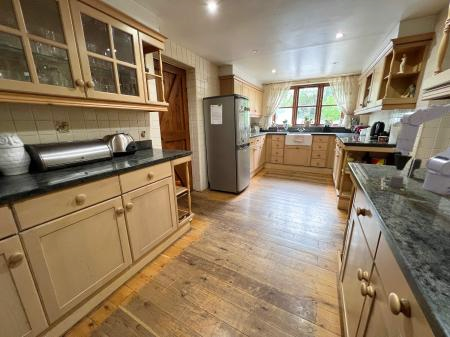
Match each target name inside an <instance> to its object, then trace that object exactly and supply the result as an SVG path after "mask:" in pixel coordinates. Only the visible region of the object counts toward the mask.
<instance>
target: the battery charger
mask: <svg viewBox="0 0 450 337" xmlns="http://www.w3.org/2000/svg"><path fill="white" fill-rule="evenodd" d="M422 163H423V160H422V159H421V158H417V157H414V158H413V157H412V158H411V162H410V165H409V169H408V172H407V175H406V177H407V178H411V179H416V176H415V174H414V173H415V170H420V168H421V167H422Z"/></svg>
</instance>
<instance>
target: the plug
mask: <svg viewBox="0 0 450 337" xmlns="http://www.w3.org/2000/svg"><path fill="white" fill-rule="evenodd" d="M390 178H391V179H390V182H389V186H388V187H390V188H395V189H401V186H402V183H403V180H405V179H404V176H400V175H395V174H391V176H390Z"/></svg>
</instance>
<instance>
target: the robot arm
mask: <svg viewBox="0 0 450 337" xmlns="http://www.w3.org/2000/svg"><path fill="white" fill-rule="evenodd" d="M415 110H416V111H413V112H412V111H410V112H406V113H405V114H403V115H402V117H401V118H400V120H399V122H400V124H401V128H400V132H399V134H398V135H399V136H398V140H397V143H396V147H392V149H391V150H392V151H393V153H394V167H396V168H395V169H396V170H397V171H404V169H405V167H406V166H407V164H408V163H409V161H410V160H412V159H413V155H410V154H411V153H413V152H414V147H415V146H414V145H415V144H416V140H417V136H418V132H419V129H420V126H422V125H423V124H424V123H426V122H430V121H434V120H437V119H440V118H443V117H444V116H445V115H446V114H448V113H450V103H448V104H445V105H442V104H436V103H435V104H431V105H429V106H428V107H425V108H419V109H415ZM425 167H426V169H427V170H426V171H427V172H426V176H425V179H424V181H423V183H422V187H421V188H422V189H424V190H426V191H430V192H433V193H436V194H438V195H450V146H449V147H448V148H447V149H446V150H445V151H442V152H439V153H436V155H434V156H433V157H430V158H428V159H427V160H426V161H425Z"/></svg>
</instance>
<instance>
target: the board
mask: <svg viewBox="0 0 450 337" xmlns="http://www.w3.org/2000/svg"><path fill="white" fill-rule="evenodd" d="M390 179H391V177H388V176H383V177H382V178H381V179H380V180H381V183H380V184H381V186H380V187H381V190H384V191H389V192H394V193H399V194H404V195H409V196H410V191H409V189H408V186H407V183H406V181H405V179H403V183H402V186H401V189H395V188H390V187H388V186H389V182H390Z"/></svg>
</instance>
